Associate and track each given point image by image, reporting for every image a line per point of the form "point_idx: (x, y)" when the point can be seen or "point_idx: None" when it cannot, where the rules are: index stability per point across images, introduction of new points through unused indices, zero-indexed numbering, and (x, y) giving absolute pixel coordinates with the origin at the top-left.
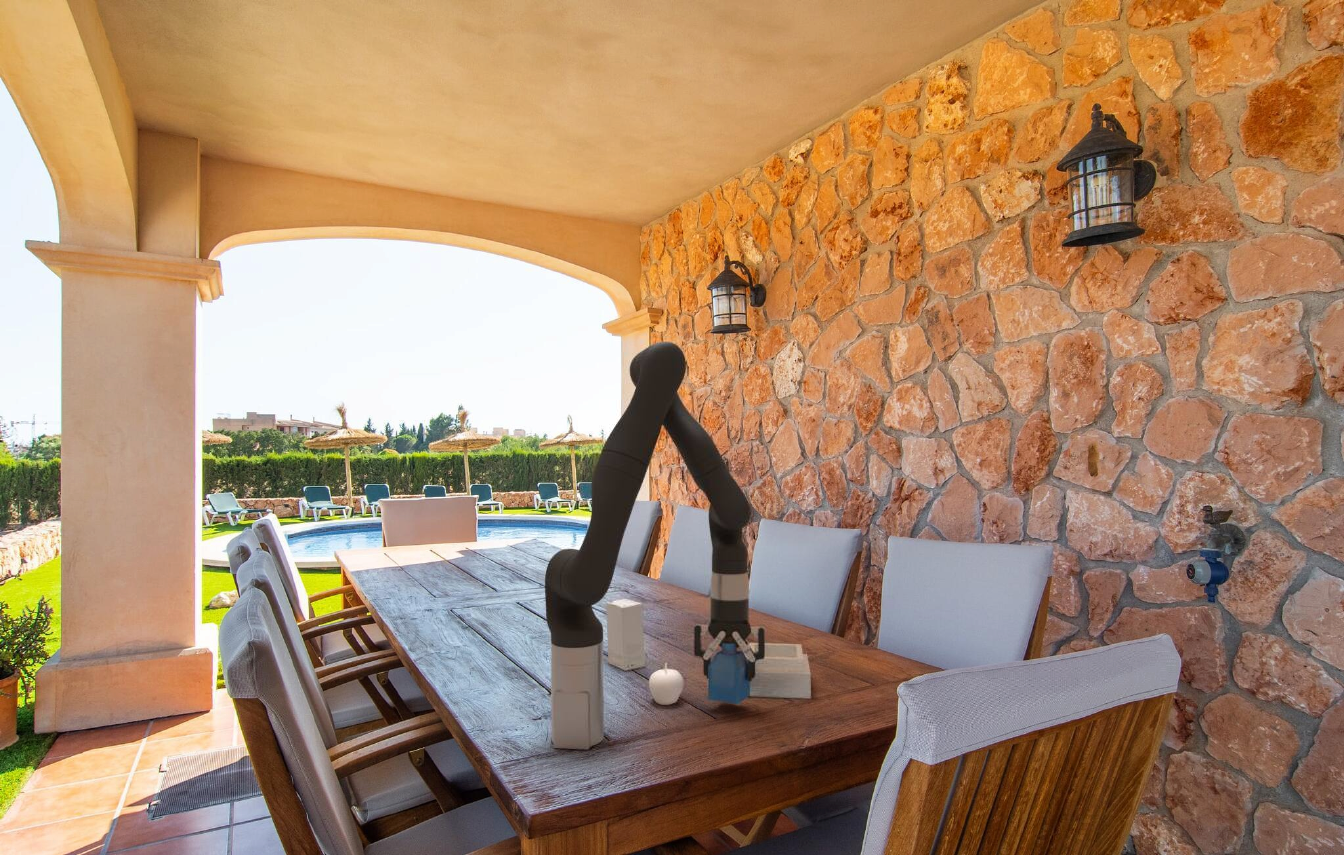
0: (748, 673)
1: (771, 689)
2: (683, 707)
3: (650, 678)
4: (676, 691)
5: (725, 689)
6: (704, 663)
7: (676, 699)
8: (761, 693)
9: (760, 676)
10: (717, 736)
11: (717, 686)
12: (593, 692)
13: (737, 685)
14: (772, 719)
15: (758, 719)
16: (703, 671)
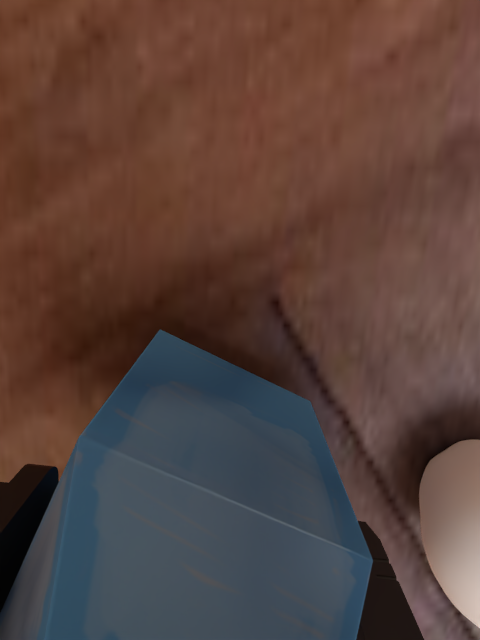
0: (16, 503)
1: None
2: (398, 419)
3: None
4: (467, 473)
5: (220, 392)
6: (407, 621)
7: (434, 463)
8: None
9: None
10: (281, 64)
11: (271, 421)
12: None
13: (128, 372)
14: (13, 285)
15: (78, 285)
16: (383, 550)
